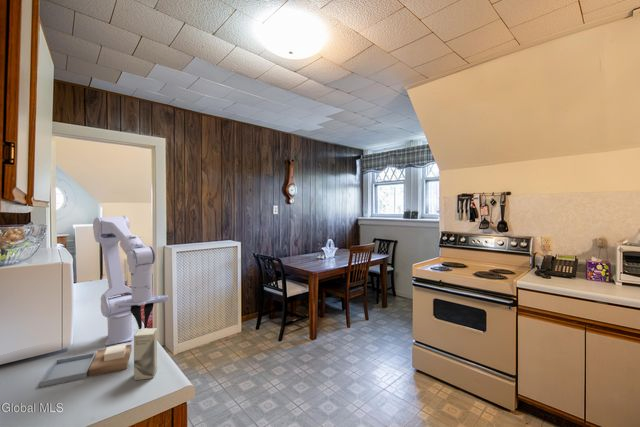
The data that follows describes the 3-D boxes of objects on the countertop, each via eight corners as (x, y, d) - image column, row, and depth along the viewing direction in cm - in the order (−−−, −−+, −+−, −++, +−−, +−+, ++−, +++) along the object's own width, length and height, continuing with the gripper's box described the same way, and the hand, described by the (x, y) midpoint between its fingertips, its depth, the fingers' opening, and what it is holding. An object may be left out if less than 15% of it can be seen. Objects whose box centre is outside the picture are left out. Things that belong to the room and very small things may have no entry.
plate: (98, 356, 95) (98, 350, 95) (131, 350, 99) (131, 344, 99) (88, 376, 85) (88, 370, 84) (126, 369, 89) (126, 362, 88)
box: (133, 381, 83) (132, 335, 82) (138, 372, 87) (137, 329, 86) (154, 378, 84) (153, 333, 83) (158, 369, 88) (157, 327, 88)
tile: (107, 353, 93) (107, 347, 93) (126, 349, 96) (126, 343, 95) (104, 361, 89) (103, 354, 89) (124, 357, 91) (123, 351, 91)
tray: (55, 364, 91) (55, 359, 91) (96, 356, 95) (96, 352, 95) (40, 387, 80) (40, 381, 80) (86, 377, 84) (86, 372, 84)
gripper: (111, 292, 88) (113, 337, 88) (167, 285, 94) (168, 328, 95) (115, 285, 94) (117, 327, 95) (167, 280, 100) (168, 319, 101)
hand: (143, 327), depth 95 cm, fingers closed
